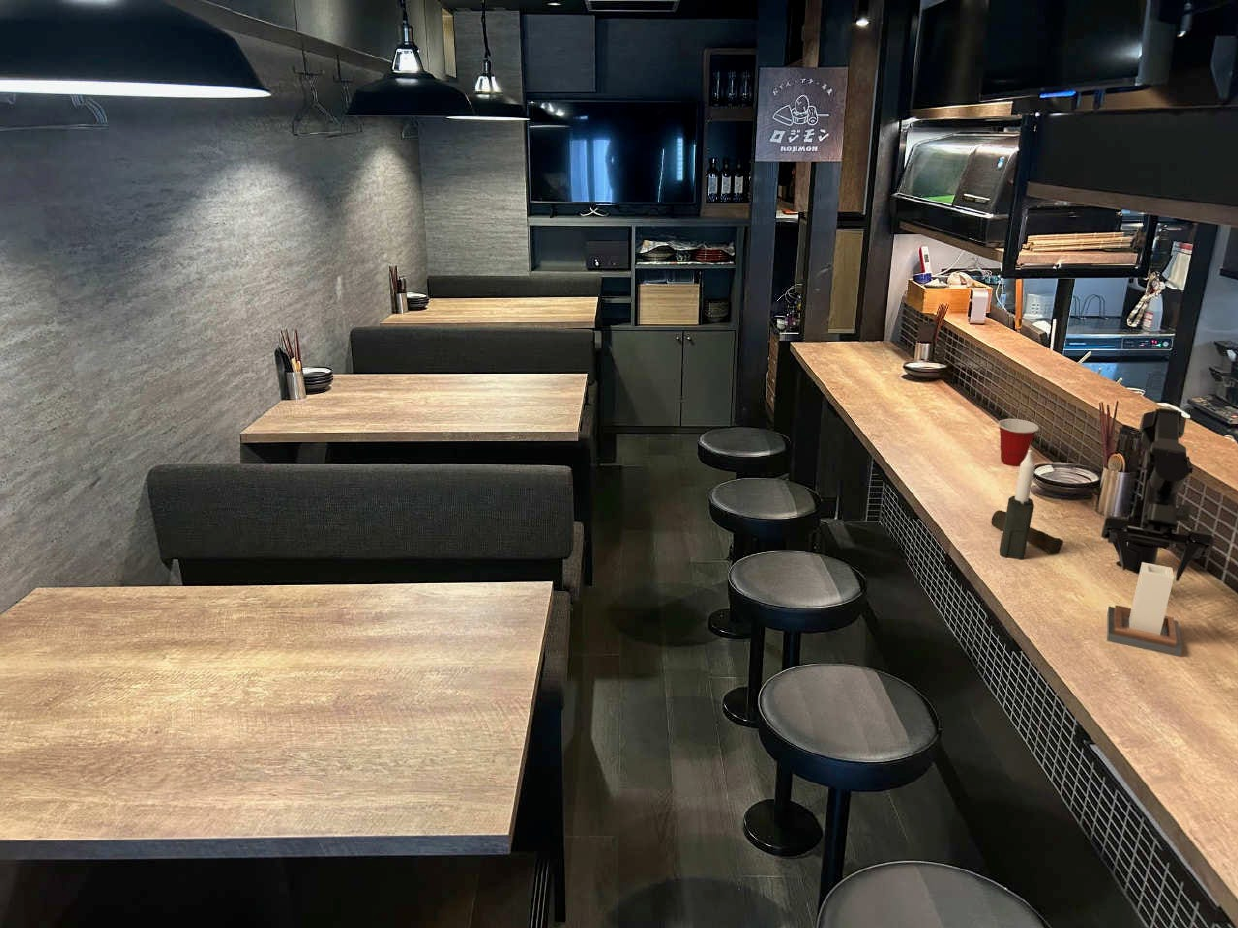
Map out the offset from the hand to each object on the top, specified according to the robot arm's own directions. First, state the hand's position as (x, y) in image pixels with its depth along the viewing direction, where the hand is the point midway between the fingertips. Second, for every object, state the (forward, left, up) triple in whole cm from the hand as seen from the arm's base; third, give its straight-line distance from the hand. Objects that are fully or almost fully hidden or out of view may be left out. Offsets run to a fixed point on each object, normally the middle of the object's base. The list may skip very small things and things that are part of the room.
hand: (1150, 574), depth 180 cm
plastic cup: (-52, -77, -9) cm, 93 cm away
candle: (0, -32, -9) cm, 33 cm away
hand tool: (-9, -37, -9) cm, 39 cm away
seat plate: (+7, +5, -9) cm, 12 cm away
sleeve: (+7, +5, -7) cm, 11 cm away
